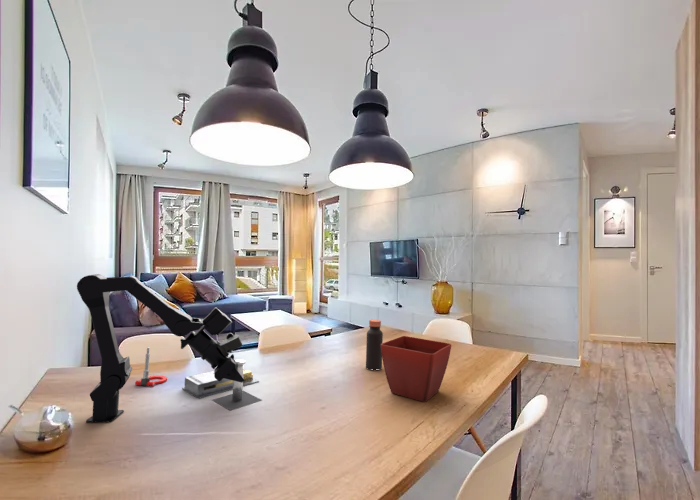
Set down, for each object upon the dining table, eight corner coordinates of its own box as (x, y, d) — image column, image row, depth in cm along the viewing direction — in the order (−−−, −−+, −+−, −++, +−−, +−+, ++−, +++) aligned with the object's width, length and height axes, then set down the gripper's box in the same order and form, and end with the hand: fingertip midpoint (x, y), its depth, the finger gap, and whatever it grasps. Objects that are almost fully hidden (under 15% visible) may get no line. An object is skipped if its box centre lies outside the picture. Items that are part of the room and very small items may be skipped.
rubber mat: (230, 412, 100) (230, 410, 100) (211, 401, 108) (211, 399, 108) (262, 401, 109) (262, 400, 109) (243, 391, 116) (243, 390, 116)
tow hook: (151, 378, 128) (132, 385, 119) (154, 342, 129) (135, 347, 120) (172, 380, 127) (154, 387, 117) (175, 344, 128) (157, 349, 118)
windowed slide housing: (198, 400, 108) (199, 386, 108) (182, 389, 116) (182, 376, 116) (258, 383, 124) (259, 370, 125) (240, 375, 132) (241, 363, 133)
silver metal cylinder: (242, 402, 106) (244, 363, 107) (229, 402, 106) (230, 363, 106) (245, 397, 110) (246, 359, 111) (232, 397, 110) (233, 359, 110)
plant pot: (451, 391, 123) (452, 343, 123) (431, 409, 107) (432, 354, 107) (402, 379, 133) (403, 335, 134) (377, 394, 118) (379, 344, 118)
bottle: (362, 367, 146) (363, 320, 147) (373, 364, 151) (374, 318, 151) (373, 371, 141) (375, 322, 142) (385, 368, 146) (386, 321, 146)
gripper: (228, 333, 99) (266, 368, 103) (225, 321, 116) (257, 352, 120) (197, 363, 95) (237, 398, 99) (198, 346, 113) (232, 377, 117)
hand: (242, 379), depth 109 cm, fingers closed on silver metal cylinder, 3 cm apart
